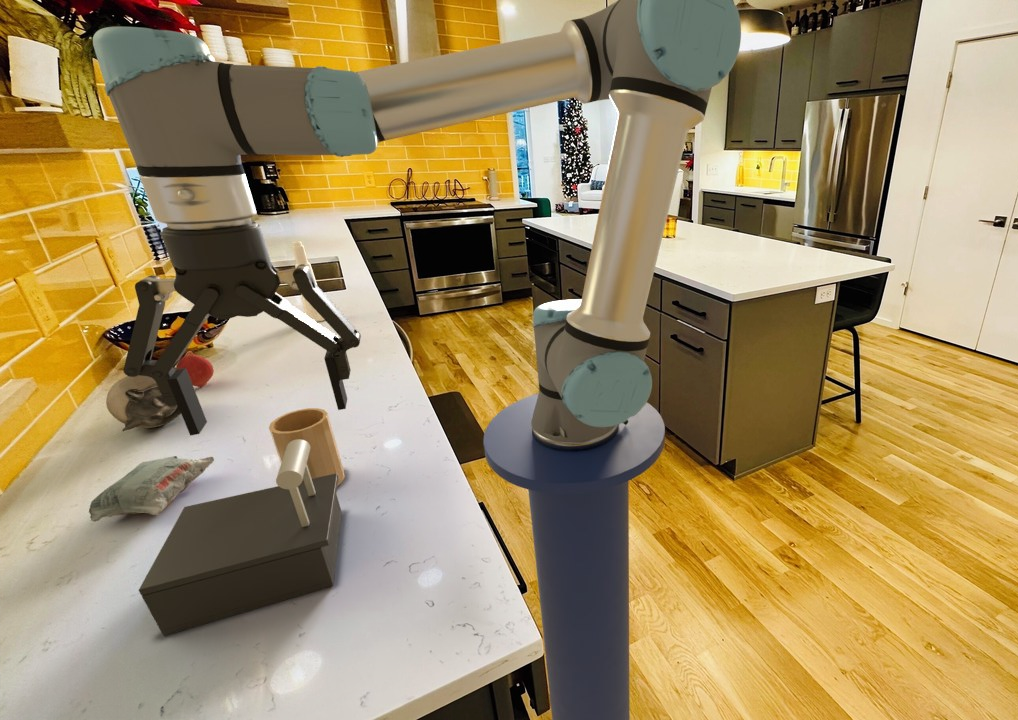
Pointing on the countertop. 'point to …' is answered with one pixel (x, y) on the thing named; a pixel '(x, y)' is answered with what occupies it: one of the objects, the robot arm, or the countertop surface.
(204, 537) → the lid
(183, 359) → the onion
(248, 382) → the countertop surface
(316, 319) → the cosmetic bottle
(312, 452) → the cup
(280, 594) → the grey lidded box
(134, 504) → the packaged food
